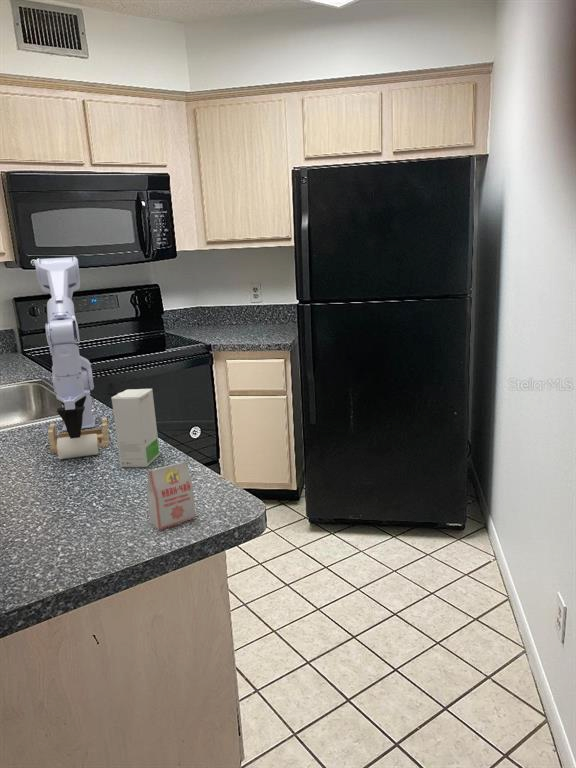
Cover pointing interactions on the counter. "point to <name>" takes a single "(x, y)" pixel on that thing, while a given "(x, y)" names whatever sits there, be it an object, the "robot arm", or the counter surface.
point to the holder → (101, 436)
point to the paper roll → (77, 446)
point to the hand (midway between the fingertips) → (76, 432)
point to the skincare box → (135, 427)
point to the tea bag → (170, 495)
